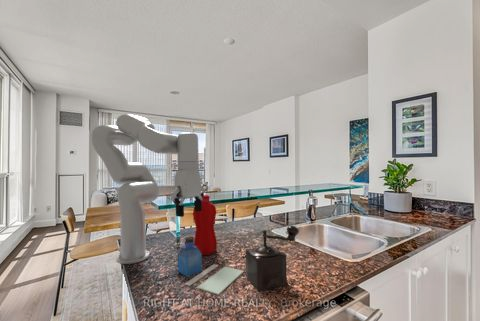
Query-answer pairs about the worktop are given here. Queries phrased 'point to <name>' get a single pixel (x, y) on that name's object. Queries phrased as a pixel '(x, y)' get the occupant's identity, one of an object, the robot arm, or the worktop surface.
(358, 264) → the worktop surface
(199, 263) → the perfume bottle
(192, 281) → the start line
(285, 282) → the dark brown coffee grinder
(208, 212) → the water bottle
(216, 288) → the mat
